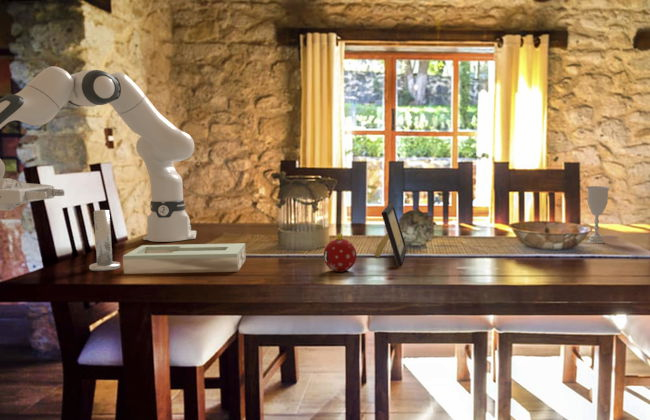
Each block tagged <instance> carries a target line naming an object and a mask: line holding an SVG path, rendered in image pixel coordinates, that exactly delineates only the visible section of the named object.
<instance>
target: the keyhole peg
mask: <svg viewBox="0 0 650 420" xmlns="http://www.w3.org/2000/svg"><path fill="white" fill-rule="evenodd" d="M110 212H111V211H110V209H100V210H99V209H96V210H93V222H94V235H95V237H94V238H95V251H96V252H95V253H96V254H95V255H96V262H95V263H92V264H90V265H89V270H90V271H93V272H105V271H106V272H107V271H113V270H117V269H120V268H121V262H120V261H113V248H112V231H111V215H110Z"/></svg>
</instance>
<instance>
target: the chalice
mask: <svg viewBox="0 0 650 420" xmlns="http://www.w3.org/2000/svg"><path fill="white" fill-rule="evenodd" d="M586 189H587V205H588V208H589V210H590V213H591V214H592V215H593V216H594V217H595V218H594V226H593V228H594V232H593V234H591V235H589V238H588V240H587V243H589V244H590V243H591V244H605V240H604V238H603V236H602V234H600V233H599V228H600V226H599V223H600V221H599V220H600V219H599V217H600V216H601V215H603V213H604V211H605V209H606V208H607V205H608V201H609V200H608V199H609V190H610V186H601V185H600V186H599V185H595V186H594V185H592V186H591V185H590V186H586Z"/></svg>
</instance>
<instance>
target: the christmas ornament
mask: <svg viewBox="0 0 650 420" xmlns="http://www.w3.org/2000/svg"><path fill="white" fill-rule="evenodd" d="M357 255H358V254H357V250H356V247H355V246H354V245H353V243H352V242H351V241H349V240H347V239H344V238H343V234H342V233H337V237H336V239H333V240H331V241H330V242H329V243H327V244H326V246H325V247H324V250H323V261H324V263H325V265H326V266H327V267H328V268H329V269H330V270H332V271H334V272H338V273H344V272H346V271H348V270H350V269H351V268H353V266H354V265H355V263H356V261H357V257H358V256H357Z"/></svg>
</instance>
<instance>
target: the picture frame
mask: <svg viewBox="0 0 650 420" xmlns="http://www.w3.org/2000/svg"><path fill="white" fill-rule="evenodd" d="M381 216H382V220H383V223H384V226H385V229H386V232H387V233H385V236H383V238H382V239H381V241H379V243H378V244H377V245H376V249H375V251H374V252H375V253H374V257H376V258H380V256H381V255H382V252H383V250H384V249H385V247H386V245H387V243H388V241H389V243H390V246H391V249H392V253H393V255H394V259H395V261H396V265H397V266H401V265H402V264H403V262H404V258H405V255H406V252H407V245H406V241H405V239H404V236H403V232H402V228H401V225H400V223H399V219H398V216H397V212H396V209H395V206H394V203H392V202H391V203H388V204H387V205H386V206H385V208H384V209H383V210H382V212H381Z"/></svg>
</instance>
